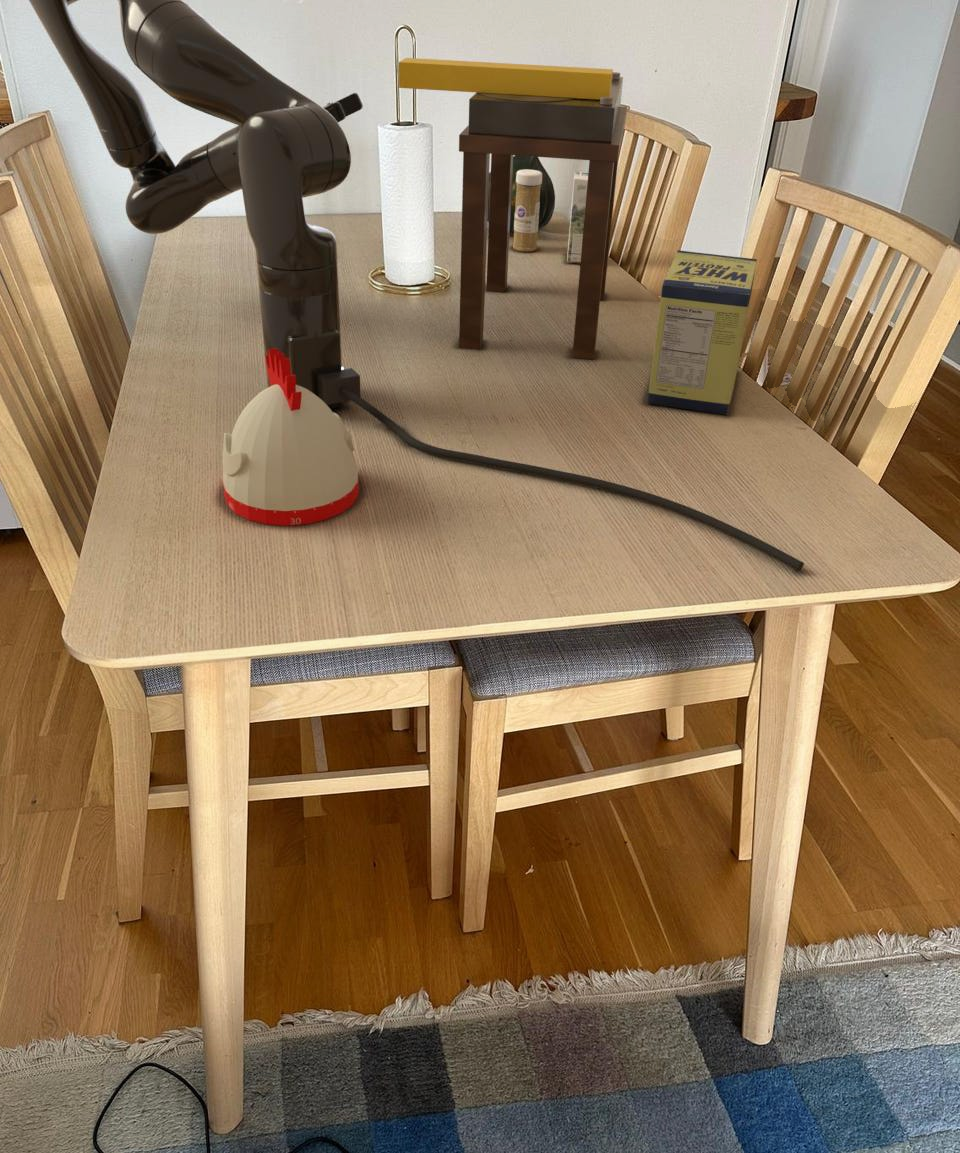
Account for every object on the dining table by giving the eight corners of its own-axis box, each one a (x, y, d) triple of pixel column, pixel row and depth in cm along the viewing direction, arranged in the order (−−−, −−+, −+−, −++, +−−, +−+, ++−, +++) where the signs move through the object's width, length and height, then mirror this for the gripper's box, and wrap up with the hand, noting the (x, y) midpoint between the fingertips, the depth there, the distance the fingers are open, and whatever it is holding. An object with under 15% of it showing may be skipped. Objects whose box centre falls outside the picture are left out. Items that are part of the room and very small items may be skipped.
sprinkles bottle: (509, 250, 183) (513, 172, 176) (517, 244, 187) (521, 167, 179) (533, 253, 182) (538, 175, 175) (540, 247, 186) (545, 170, 178)
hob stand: (454, 348, 142) (459, 92, 124) (486, 283, 167) (494, 62, 148) (597, 361, 140) (623, 102, 122) (607, 293, 164) (630, 70, 146)
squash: (454, 203, 189) (508, 143, 180) (480, 189, 201) (532, 133, 193) (505, 261, 191) (561, 205, 183) (527, 244, 203) (581, 191, 195)
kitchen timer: (331, 452, 114) (323, 323, 106) (379, 507, 104) (376, 369, 96) (208, 476, 108) (191, 342, 100) (248, 537, 98) (232, 393, 90)
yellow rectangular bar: (398, 87, 130) (398, 61, 128) (406, 83, 134) (405, 57, 132) (608, 100, 127) (611, 73, 125) (610, 95, 131) (612, 69, 129)
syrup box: (599, 256, 182) (607, 171, 174) (599, 266, 177) (607, 179, 169) (567, 254, 182) (574, 169, 174) (566, 263, 178) (573, 177, 169)
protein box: (737, 371, 138) (758, 257, 130) (729, 416, 126) (751, 293, 117) (660, 361, 140) (676, 248, 132) (645, 405, 128) (661, 283, 119)
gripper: (217, 135, 132) (322, 82, 126) (254, 118, 143) (352, 69, 138) (245, 191, 135) (350, 142, 129) (280, 170, 147) (377, 124, 141)
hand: (351, 104), depth 134 cm, fingers open, 8 cm apart
